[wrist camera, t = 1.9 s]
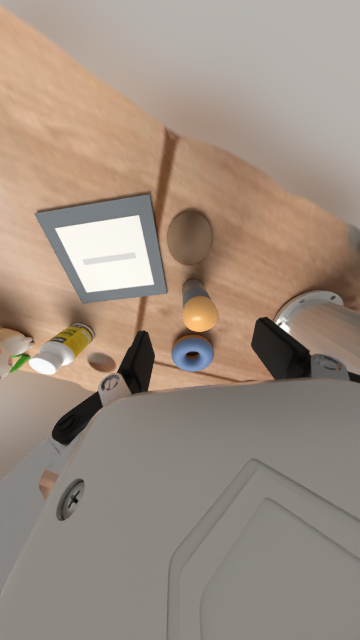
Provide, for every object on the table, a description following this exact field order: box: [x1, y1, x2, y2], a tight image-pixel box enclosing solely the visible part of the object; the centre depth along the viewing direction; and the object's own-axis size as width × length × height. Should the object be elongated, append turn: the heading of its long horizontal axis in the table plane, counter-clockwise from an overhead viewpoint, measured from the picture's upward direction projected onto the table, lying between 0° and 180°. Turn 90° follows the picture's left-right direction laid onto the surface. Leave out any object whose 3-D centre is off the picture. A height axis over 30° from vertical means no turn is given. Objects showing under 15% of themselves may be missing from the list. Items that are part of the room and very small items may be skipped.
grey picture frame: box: [34, 194, 167, 303], centre depth 21 cm, size 17×14×1 cm
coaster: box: [167, 212, 212, 265], centre depth 20 cm, size 7×7×1 cm
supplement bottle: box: [29, 323, 94, 374], centre depth 25 cm, size 5×5×10 cm
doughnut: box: [172, 334, 214, 371], centre depth 30 cm, size 10×10×5 cm
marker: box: [182, 279, 219, 332], centre depth 20 cm, size 4×4×11 cm
